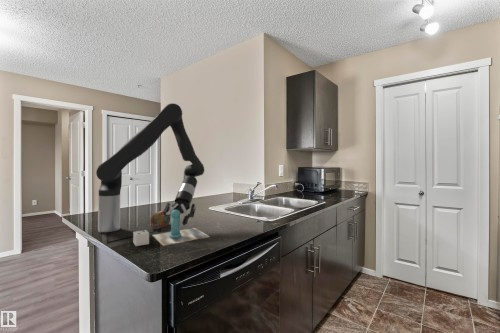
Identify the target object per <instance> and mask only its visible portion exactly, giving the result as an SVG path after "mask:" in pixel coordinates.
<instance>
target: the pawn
mask: <svg viewBox="0 0 500 333" xmlns="http://www.w3.org/2000/svg"><path fill="white" fill-rule="evenodd" d="M180 216H181V213H180V211H179V210H173V211H172V212H171V218H170V232H171V233H170V234H169V238H173V239H175V238H180V237H181V233H180V230H181V217H180Z"/></svg>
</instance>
